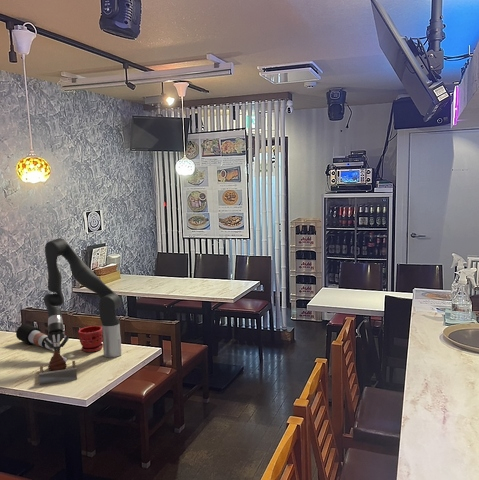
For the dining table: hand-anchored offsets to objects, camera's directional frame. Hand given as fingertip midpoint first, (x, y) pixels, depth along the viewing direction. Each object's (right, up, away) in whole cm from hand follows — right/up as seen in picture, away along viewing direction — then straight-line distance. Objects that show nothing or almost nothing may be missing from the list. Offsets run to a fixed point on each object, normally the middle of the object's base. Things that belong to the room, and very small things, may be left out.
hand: (57, 354), depth 246 cm
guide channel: (+7, -6, -16) cm, 19 cm away
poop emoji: (+3, -6, -8) cm, 10 cm away
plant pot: (+12, -2, +19) cm, 23 cm away
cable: (-20, -2, +27) cm, 33 cm away
